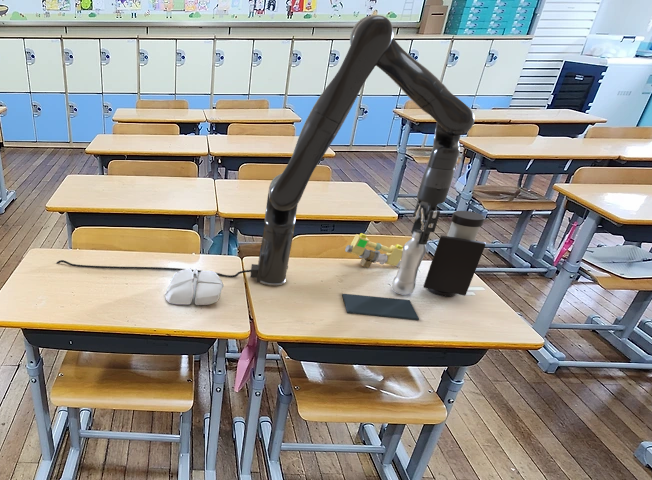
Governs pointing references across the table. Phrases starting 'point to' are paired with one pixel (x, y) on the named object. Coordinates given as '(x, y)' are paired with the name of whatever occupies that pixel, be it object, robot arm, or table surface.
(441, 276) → the light fixture
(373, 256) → the toy
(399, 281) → the plastic bottle
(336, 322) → the table surface
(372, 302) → the mat
